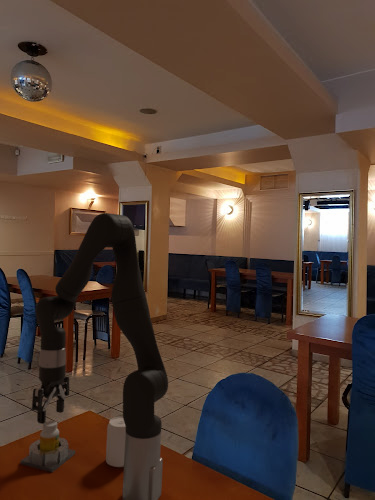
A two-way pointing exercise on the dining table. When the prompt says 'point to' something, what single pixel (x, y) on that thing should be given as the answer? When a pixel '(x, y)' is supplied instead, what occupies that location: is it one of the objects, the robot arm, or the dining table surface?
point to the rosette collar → (48, 456)
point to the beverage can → (116, 442)
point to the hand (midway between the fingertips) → (51, 417)
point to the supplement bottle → (49, 436)
